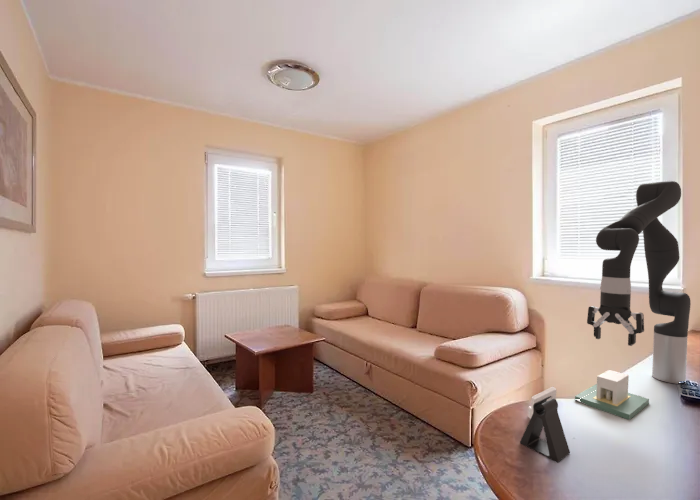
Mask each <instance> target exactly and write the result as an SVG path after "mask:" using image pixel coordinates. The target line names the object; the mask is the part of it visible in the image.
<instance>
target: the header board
mask: <svg viewBox="0 0 700 500" xmlns="http://www.w3.org/2000/svg"><path fill="white" fill-rule="evenodd" d="M595 390H596V391H595ZM593 391H594V392H593ZM591 392H592V393H591ZM588 394H589V395H588ZM586 395H587V396H586ZM584 396H585V397H584ZM596 396H597V383H596V384H594V385H592V386H591V387H589V388H587V389H585V390H583V391H581V392H579V393H578V394H576V395H574V400H575V399H580V398H581V399H580V401H581V402H583V403H585V404H584V405H586V404H587V405H586V406H589V407H592V408H594V409H596V410H597V409H598V410H600V411H603V412H606V413H609V414H612V415H614V416H617V417H620V418H623V419H625V420H627V421H628V420H629V421H630V420H631V419H632V418H633V417H635V416H636V415H637V414H638V413H639V412H641V411H642V410H643V409H644V408H645V407H647V406H648V405H649V404H650V399H649V398H647V397H645V396H640V395H637V394H633V393H631V392H630V393H629V392H628V397H626V398H625V399H624V400H622V401H621V402H619V403H618V404H617V405H616V404H613V403H612V401H613V391H611V390H606V396H604V397H603V398H601V399H598V398H596ZM582 397H583V398H582ZM583 403H582V404H583Z"/></svg>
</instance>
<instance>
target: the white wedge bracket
mask: <svg viewBox="0 0 700 500" xmlns="http://www.w3.org/2000/svg"><path fill="white" fill-rule="evenodd" d="M547 397H550V398H549V399H547V401H549V400H551V399H553V398H554V399H555V400H556V401H557V388H556V387H554V386H551V387H549V388H546V389H544V390H543V391H541V392H540V391H539V393H537V394H534V395H533V396H531V400H530V401H531V402H530V405H529V406H528V412H527V416H528V418H529V420H530V419H531V417H532V415H533V405H534V404H535V403H536V402H538V401H540V400H542V399H544V398H547Z"/></svg>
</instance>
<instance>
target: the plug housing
mask: <svg viewBox="0 0 700 500" xmlns="http://www.w3.org/2000/svg"><path fill="white" fill-rule="evenodd" d="M629 377H630V376H629V374H626V373H622V372H619V371H616V370H611V369H608V370H606V371H604V372H603V373H601V374H598V375H597V376H596V384H597V396H596V398H598V399H601V398H603V397H604V396H606V390H611V391H613V401H612V403H613V404H616V405H617V404H618V403H619V402H621V401H622V400H624V399H625V398H626V397H628V393H629Z"/></svg>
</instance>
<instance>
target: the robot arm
mask: <svg viewBox="0 0 700 500" xmlns="http://www.w3.org/2000/svg"><path fill="white" fill-rule="evenodd" d="M681 197H682V188H681V185H680V184H679V183H678V182H677V181H675V180H665V181H655V182H653V181H652V182H646V183H642V184H639V185H638V186H637V189H636V191H635V199H636V205H637V206H636V207H633V208H631V209H630V210H628V211H627V212H625V213H624V215H622V216H621V217H620V218H619V219H618V220H617V221H614V222H612V223H610V224H608V225H607V226H604V227H603V228H601V230H599V232H598V233H597V235H596V238H595V244H596V245H597V247H598V248H599V249H601V250H604V251H619V253H618V254H617V256H615V257H608V258H605V259H604V260H603V261H602V266H601V267H602V270H601V271H602V272H601V282H600V289H599V290H600V296H599V298H600V302H599V305H600V306H599V307H597V306H595V305H591V306H588V309H587V319H586V324H587V325H590V326H592V327H593V337H595V340H600V339H601V335H602V334H601V333H602V327H601V325H603V324H604V323H605V322H607V323H609V324H610V323H611V324H612V323H614V324H616V325H622V326H623V328H625V329H626V331H627V332H628V337H627V341H628V342H627V346H630V347H632V346H633V345H636V342H637V334H642V333H644V332H645V319H644V318H645V317H644V313H643V312H632V311H631V297H632V296H631V295H632V293H631V292H632V284H631V283H632V282H631V266H632V261H633V259H634V255H635V252H636V251H637V248H638V246H639V242H640V236H639V235H640V234H641V233H642V236H643V245H644V246H643V247H644V257H645V262H646V268H647V274H648V275H647V276H648V305H649V308H650V311H651V312H652V313H654V314H656V315H661V316H662V315H663V316H668V317H674V319H673V320H672V321H670V322H664V323H663V322H662V323H661V322H660V323H656V324H654V327H653V343H652V374H651V376H652V377H653V378H654V379H655V380H659V381H663V382H665V383H669V384H670V383H671V384H675V385H679V384H678V383H679V382H680V381H686V382H687V365H688V364H687V360H688V356H687V355H688V332H689V325H690V324H689V323H690V322H689V321H690V312H691V298H690V296H689V294H688V293H687V292H682V291H680V292H679V291H669V290H664V289H663V285H664V284H663V283H664V281H665V279H666V278H667V276H668V275H669V274H670V273H671V271H672V270H673V269H674V268H675V267H676V266H677V265H678V263H679V261H680V257H681V256H680V249H679V241H678V240H677V238H676V237H675V236H674V234H673V233H672V232H671V231H670V230H669V229H667V227H666V226H664V225H663V223H662V222H661V221H660V220H659V219H658V218H659V217H660V216H662V215H663V214H665V213H666V212H667V211H669V210H671V209H672V208H674V207H676V206H677V204H678V203H680V200H681ZM597 313H599V314H600V316H599V317H600V318H598V319H597V321H595V316H596V314H597ZM631 317H633V320H634V321H635V325H636V328H635V327H634V326H633V324H632V322H631V321H630V320H629V319H630V318H631Z"/></svg>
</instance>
